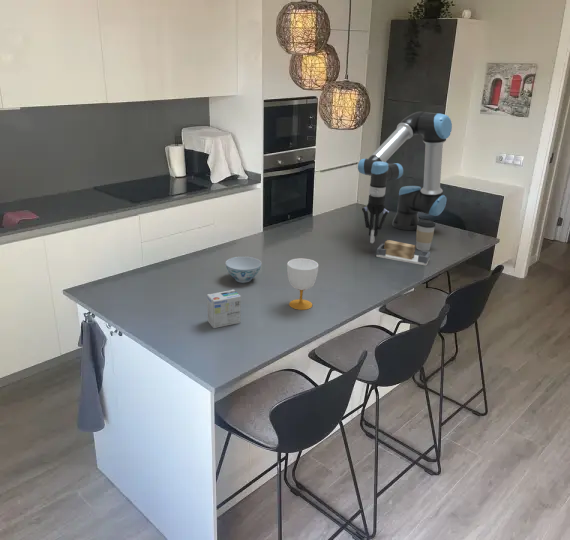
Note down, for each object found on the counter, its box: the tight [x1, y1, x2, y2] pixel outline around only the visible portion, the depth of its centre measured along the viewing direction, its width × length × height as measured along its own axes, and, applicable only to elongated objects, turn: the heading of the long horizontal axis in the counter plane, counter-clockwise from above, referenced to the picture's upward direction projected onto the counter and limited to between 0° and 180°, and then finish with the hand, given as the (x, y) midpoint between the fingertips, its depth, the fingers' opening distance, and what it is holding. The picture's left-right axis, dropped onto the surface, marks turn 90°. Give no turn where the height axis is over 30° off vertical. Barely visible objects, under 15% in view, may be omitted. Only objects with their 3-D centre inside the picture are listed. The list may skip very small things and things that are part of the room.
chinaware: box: [225, 256, 262, 284], centre depth 227 cm, size 15×15×8 cm
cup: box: [286, 258, 319, 311], centre depth 205 cm, size 12×12×17 cm
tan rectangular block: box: [384, 239, 416, 260], centre depth 259 cm, size 14×4×6 cm, turn 61°
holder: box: [375, 243, 432, 266], centre depth 259 cm, size 9×24×4 cm, turn 66°
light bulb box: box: [206, 289, 242, 329], centre depth 191 cm, size 11×7×11 cm, turn 118°
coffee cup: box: [415, 217, 436, 252], centre depth 271 cm, size 9×9×15 cm
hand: (372, 242), depth 263 cm, fingers closed
